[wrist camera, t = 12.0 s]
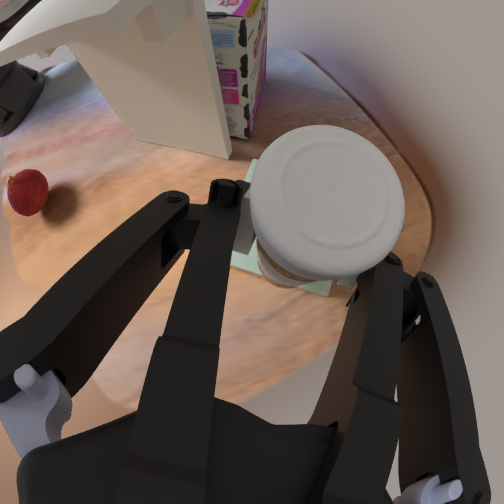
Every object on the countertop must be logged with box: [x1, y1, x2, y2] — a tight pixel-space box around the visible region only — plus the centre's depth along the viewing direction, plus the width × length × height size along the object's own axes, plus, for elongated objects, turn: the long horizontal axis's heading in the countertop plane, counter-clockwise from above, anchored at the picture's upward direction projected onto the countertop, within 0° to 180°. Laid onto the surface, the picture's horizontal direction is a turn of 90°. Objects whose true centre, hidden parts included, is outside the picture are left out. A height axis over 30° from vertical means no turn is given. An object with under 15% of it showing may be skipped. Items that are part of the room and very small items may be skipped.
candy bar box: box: [204, 0, 268, 140], centre depth 21 cm, size 11×5×16 cm, turn 169°
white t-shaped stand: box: [0, 0, 232, 160], centre depth 17 cm, size 12×7×22 cm, turn 72°
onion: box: [7, 169, 49, 216], centre depth 24 cm, size 6×6×8 cm
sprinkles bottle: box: [250, 125, 405, 288], centre depth 13 cm, size 5×5×14 cm
